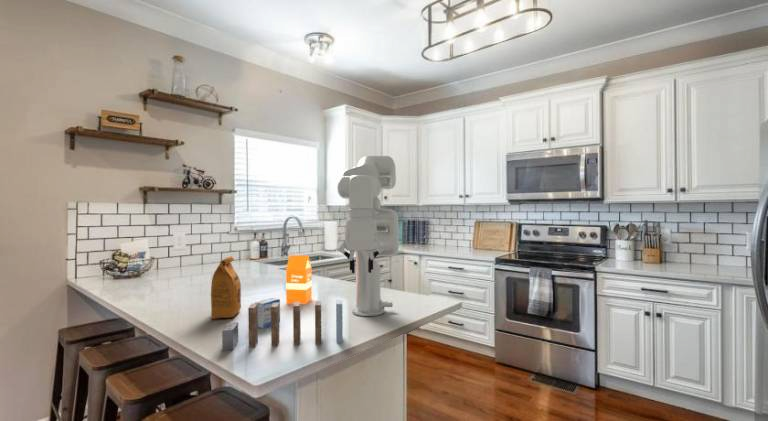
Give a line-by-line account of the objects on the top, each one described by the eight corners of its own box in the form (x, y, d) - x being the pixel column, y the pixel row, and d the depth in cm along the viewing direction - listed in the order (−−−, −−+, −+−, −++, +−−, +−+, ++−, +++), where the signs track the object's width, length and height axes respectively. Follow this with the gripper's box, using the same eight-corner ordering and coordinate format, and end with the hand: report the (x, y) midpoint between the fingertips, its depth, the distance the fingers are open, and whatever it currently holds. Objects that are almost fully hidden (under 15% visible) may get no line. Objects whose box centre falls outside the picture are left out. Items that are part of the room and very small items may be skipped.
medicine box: (263, 329, 132) (262, 303, 132) (254, 326, 134) (254, 302, 134) (280, 322, 139) (280, 298, 139) (271, 320, 141) (271, 297, 141)
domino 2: (279, 340, 121) (279, 302, 121) (277, 346, 116) (277, 306, 116) (273, 340, 121) (273, 302, 121) (271, 346, 116) (270, 307, 116)
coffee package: (245, 310, 154) (244, 255, 154) (234, 320, 142) (233, 260, 141) (220, 310, 154) (219, 255, 153) (206, 320, 141) (206, 260, 141)
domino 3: (300, 339, 122) (300, 301, 122) (299, 345, 117) (299, 305, 117) (294, 339, 122) (294, 301, 122) (293, 345, 117) (293, 306, 117)
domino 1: (257, 341, 120) (257, 303, 120) (255, 347, 115) (254, 307, 115) (251, 341, 120) (251, 303, 120) (248, 348, 115) (248, 307, 115)
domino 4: (321, 338, 123) (321, 300, 123) (321, 343, 118) (321, 305, 118) (315, 338, 123) (315, 301, 123) (315, 344, 118) (315, 305, 118)
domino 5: (336, 343, 119) (336, 304, 119) (336, 337, 124) (336, 300, 124) (342, 342, 119) (342, 304, 119) (341, 337, 124) (341, 299, 124)
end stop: (238, 341, 120) (238, 322, 120) (233, 350, 113) (232, 329, 113) (228, 342, 120) (228, 322, 120) (222, 350, 113) (222, 330, 113)
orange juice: (292, 298, 173) (292, 254, 173) (311, 299, 172) (311, 254, 171) (286, 303, 165) (285, 256, 165) (305, 303, 164) (305, 257, 164)
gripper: (385, 214, 127) (385, 269, 127) (333, 214, 124) (334, 271, 124) (389, 214, 119) (389, 273, 120) (334, 215, 117) (334, 275, 117)
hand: (361, 271), depth 122 cm, fingers open, 4 cm apart
